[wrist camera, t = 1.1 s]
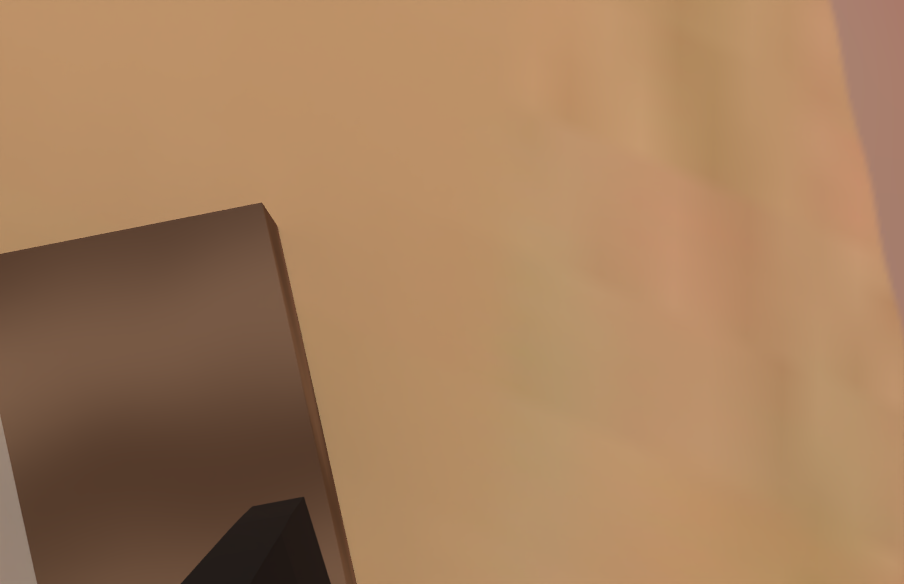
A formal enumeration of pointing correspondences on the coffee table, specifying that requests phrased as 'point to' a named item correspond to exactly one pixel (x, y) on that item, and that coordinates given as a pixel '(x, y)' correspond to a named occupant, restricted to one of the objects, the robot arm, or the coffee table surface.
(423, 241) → the coffee table surface
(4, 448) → the block
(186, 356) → the walnut deck
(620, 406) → the coffee table surface
